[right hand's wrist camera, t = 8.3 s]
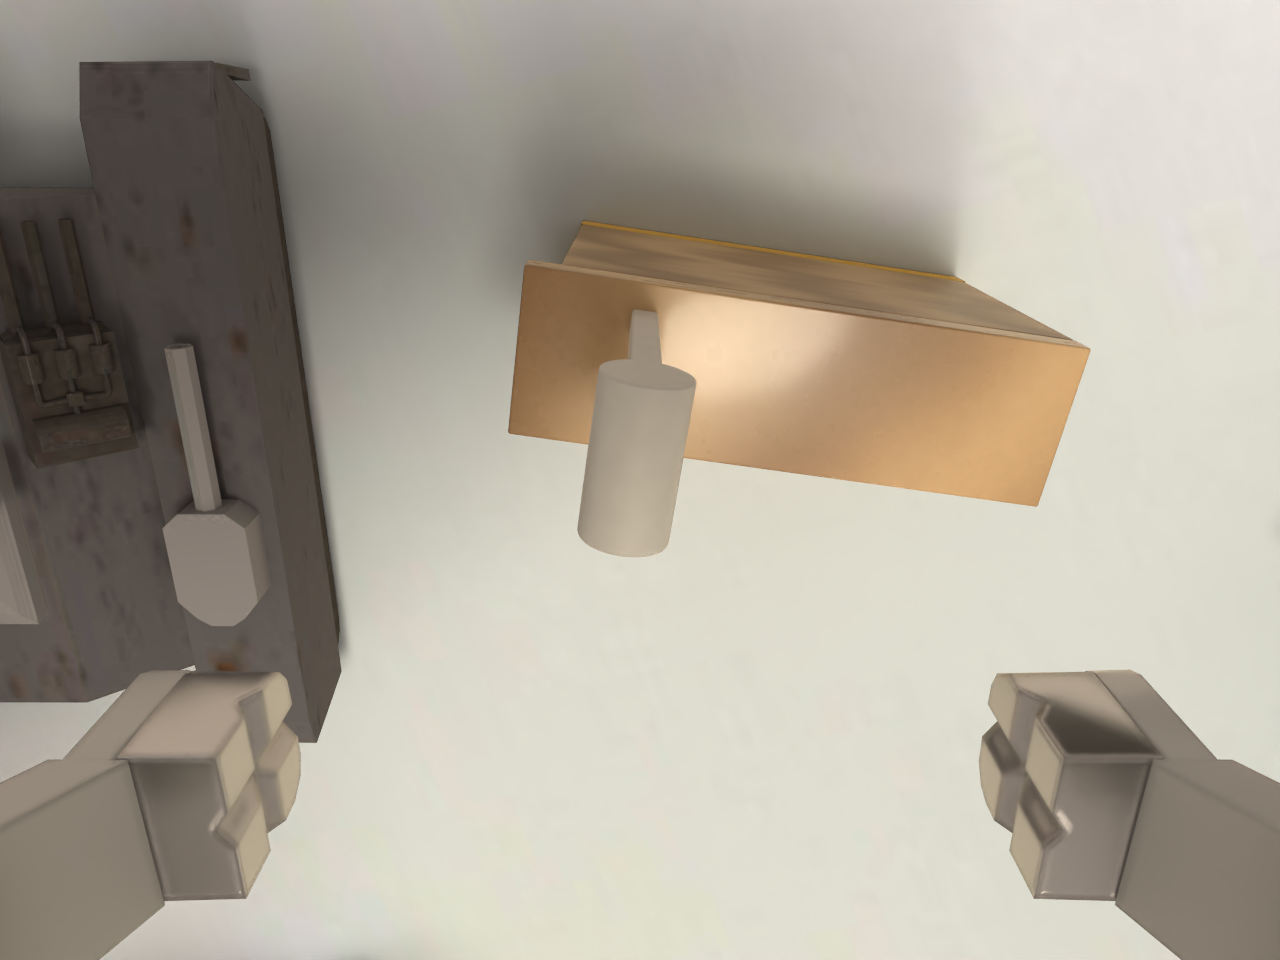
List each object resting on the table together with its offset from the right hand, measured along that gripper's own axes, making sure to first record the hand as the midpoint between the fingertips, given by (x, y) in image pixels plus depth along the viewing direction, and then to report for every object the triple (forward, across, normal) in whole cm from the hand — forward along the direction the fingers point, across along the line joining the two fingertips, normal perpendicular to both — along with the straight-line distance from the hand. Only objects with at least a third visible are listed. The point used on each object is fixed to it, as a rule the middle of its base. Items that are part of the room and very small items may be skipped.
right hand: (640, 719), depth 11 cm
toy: (+27, +23, +5) cm, 36 cm away
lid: (+16, -4, +1) cm, 17 cm away
